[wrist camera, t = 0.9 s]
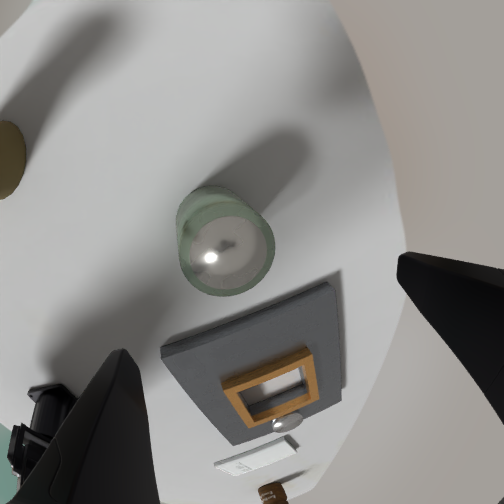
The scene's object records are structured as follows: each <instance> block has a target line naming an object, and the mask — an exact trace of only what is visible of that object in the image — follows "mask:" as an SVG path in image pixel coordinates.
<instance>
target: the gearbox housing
mask: <svg viewBox="0 0 504 504" xmlns="http://www.w3.org/2000/svg"><path fill="white" fill-rule="evenodd" d="M160 348H161V360H162V361H163V363H164V364H165V365H166V367H167V368H168V369H169V371H170V372H171V373H172V375H173V376H174V377H175V379H176V380H177V381H178V383H179V384H180V385H181V387H182V388H183V389H184V390H185V392H186V393H187V394H188V395H189V397H190V398H191V399H192V400H193V402H194V403H195V404H196V405H197V406H198V408H199V409H200V410H201V411H202V412H203V414H204V415H205V416H206V417H207V418H208V419H209V420H210V422H211V423H212V424H213V425H214V426H215V427H216V428H217V429H218V430H219V432H220V433H221V434H222V435H223V436H224V437H225V438H226V439H227V440H228V441H229V442H230V443H231V444H232V445H233V446H235V445H238V444H241V443H244V442H247V441H250V440H253V439H256V438H259V437H261V436H264V435H267V434H270V433H272V432H278V433H282V432H287V431H290V430H292V429H294V428H296V427H297V426H299V425H300V424H301V423H302V421H303V419H305V418H308V417H310V416H312V415H314V414H316V413H318V412H320V411H322V410H324V409H326V408H328V407H330V406H332V405H334V404H336V403H338V402H340V401H342V399H341V362H340V343H339V328H338V315H337V303H336V293H335V289H334V288H333V287H332V286H331V285H330V284H328V283H327V282H326V283H323V284H321V285H319V286H317V287H314V288H312V289H310V290H308V291H305V292H303V293H301V294H298V295H296V296H294V297H291V298H289V299H287V300H284V301H282V302H280V303H277V304H275V305H272V306H270V307H268V308H265V309H263V310H260V311H258V312H255V313H253V314H250V315H248V316H245V317H243V318H240V319H237V320H235V321H232V322H230V323H227V324H224V325H222V326H219V327H217V328H214V329H211V330H208V331H206V332H203V333H200V334H198V335H195V336H192V337H189V338H186V339H183V340H181V341H178V342H175V343H172V344H169V345H166V346H163V347H160ZM298 367H299V372H300V376H301V380H302V385H299V386H297V387H295V388H293V389H290V390H288V391H286V392H284V393H281V394H279V395H276V396H274V397H272V398H269V399H267V400H264V401H261V402H259V403H256V404H254V405H251V406H248V405H247V403H246V401H245V400H244V398H243V396H242V395H241V393H240V391H242V390H245V389H248V388H250V387H253V386H256V385H258V384H261V383H263V382H266V381H268V380H271V379H273V378H275V377H278V376H280V375H282V374H285V373H287V372H289V371H292V370H294V369H296V368H298Z"/></svg>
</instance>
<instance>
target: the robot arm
mask: <svg viewBox="0 0 504 504" xmlns="http://www.w3.org/2000/svg"><path fill="white" fill-rule="evenodd" d="M397 280H398V282H399V284H400V285H401V286H402V288H403V289H404V291H405V292H406V293H407V295H408V296H409V297H410V299H411V300H412V301H413V303H414V304H415V306H416V307H417V308H418V310H419V311H420V313H422V315H423V316H424V317H425V319H426V320H427V321H428V322H429V323H430V325H431V326H432V327H433V328H434V329H435V330H436V332H437V333H438V334H439V335H440V336H441V338H442V339H443V340H444V341H445V343H446V344H447V345H448V346H449V348H450V349H451V350H452V352H453V353H454V354H455V355H456V357H457V358H458V359H459V360H460V362H461V363H462V364H463V366H464V367H465V368H466V370H467V371H468V373H469V374H470V375H471V377H472V378H473V379H474V381H475V382H476V384H477V385H478V386H479V388H480V389H481V390H482V392H483V393H484V395H485V397H486V398H487V400H488V401H489V403H490V404H491V406H492V407H493V409H494V410H495V412H496V413H497V415H498V417H499V418H500V420H501V421H502V423H503V425H504V269H499V268H498V269H497V268H493V267H489V266H484V265H479V264H474V263H469V262H464V261H459V260H453V259H448V258H443V257H437V256H432V255H426V254H420V253H415V252H406V253H403V254H401V255H400V256H399V258H398V265H397ZM28 396H29V397H30V398H31V399H32V400H33V401H34V402H35V403H36V404H35V408H34V412H33V416H32V420H31V424H30V428H29V427H27V426H26V425H25V424H23V423H21V426H16V425H14V426H13V430H12V435H11V439H10V444H9V450H8V455H7V458H8V460H9V462H10V463H11V467H12V474H13V475H15V476H17V477H18V481H17V493H16V495H15V496H14V497H13V499H12V500H10V501H9V502H8V503H6V504H160V500H159V495H158V490H157V484H156V478H155V472H154V465H153V458H152V450H151V442H150V433H149V423H148V415H147V409H146V404H145V399H144V393H143V387H142V381H141V374H140V370H139V368H138V366H137V365H136V363H135V362H134V360H133V359H132V357H131V356H130V354H129V353H128V351H127V350H126V349H123V348H122V349H118V350H114V351H112V352H111V353H110V355H109V356H108V358H107V359H106V360H105V362H104V363H103V364H102V366H101V367H100V369H99V370H98V372H97V373H96V374H95V376H94V377H93V379H92V380H91V382H90V383H89V384H88V386H87V387H86V389H85V390H84V392H83V393H82V395H81V396H80V398H79V399H76V398H75V397H74V396H73V395H72V394H71V393H70V392H69V391H68V390H67V389H66V388H65V387H64V386H63V385H61V384H58V385H54V386H49V387H45V388H40V389H35V390H30V391H28ZM23 444H24V445H25V446H23ZM498 504H504V498H503V499H502V500H501V501H500V502H499V503H498Z"/></svg>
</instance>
